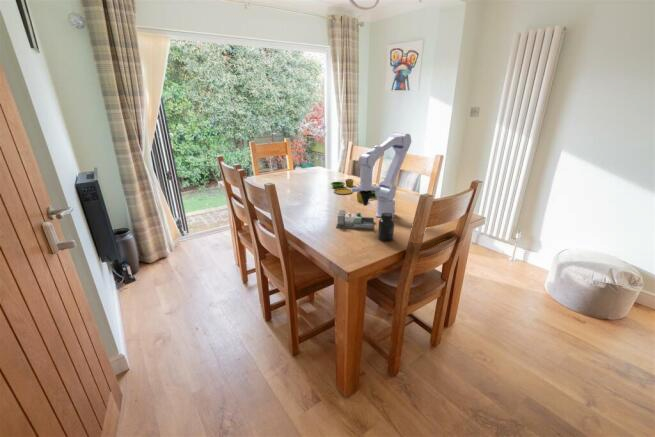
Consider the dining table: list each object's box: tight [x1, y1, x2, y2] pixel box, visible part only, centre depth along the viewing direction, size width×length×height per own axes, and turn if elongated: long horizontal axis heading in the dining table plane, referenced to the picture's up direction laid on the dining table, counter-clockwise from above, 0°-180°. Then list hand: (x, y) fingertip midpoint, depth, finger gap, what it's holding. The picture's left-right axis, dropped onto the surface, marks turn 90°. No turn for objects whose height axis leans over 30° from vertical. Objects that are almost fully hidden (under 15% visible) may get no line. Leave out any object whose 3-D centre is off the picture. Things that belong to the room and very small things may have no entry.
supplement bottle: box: [377, 212, 395, 243], centre depth 132 cm, size 7×7×12 cm
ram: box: [354, 212, 363, 224], centre depth 148 cm, size 3×7×5 cm, turn 170°
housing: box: [345, 212, 355, 225], centre depth 149 cm, size 4×4×5 cm
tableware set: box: [330, 178, 378, 203], centre depth 200 cm, size 41×28×6 cm
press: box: [335, 209, 375, 231], centre depth 148 cm, size 18×11×6 cm, turn 80°
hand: (365, 204), depth 150 cm, fingers closed
